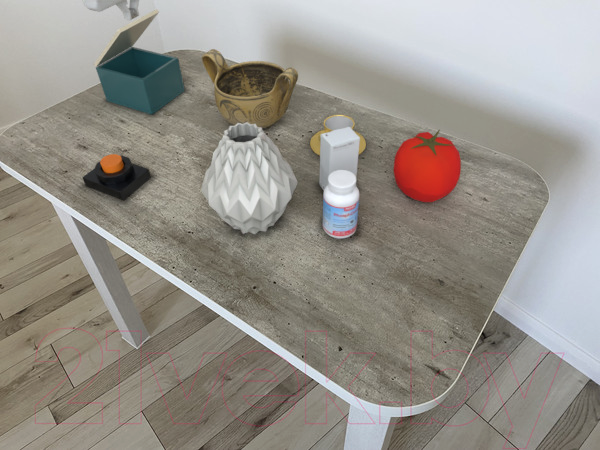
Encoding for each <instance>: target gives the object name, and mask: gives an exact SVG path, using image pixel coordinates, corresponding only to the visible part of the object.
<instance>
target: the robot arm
mask: <svg viewBox="0 0 600 450" xmlns="http://www.w3.org/2000/svg"><path fill="white" fill-rule="evenodd" d="M82 3H83V5H84V7H86V8H87V9H88V10H89V11H93V12H98V13H100V12H103V11H105V10H108V9H109V8H111V7H114V6H116V7H117V8H119V10H120V11H121V12H122V14H123V15H122V16H123V19H124V20H126V21H132V20H133V19H136V18H137V17H139V16H140V12H139V4H140V0H129V7H128V6H127V5H128V0H82Z"/></svg>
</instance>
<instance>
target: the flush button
mask: <svg viewBox="0 0 600 450" xmlns="http://www.w3.org/2000/svg"><path fill="white" fill-rule="evenodd" d="M99 162H100V164H101V166H102V169H103V171H104V172H105V173H115V172H118V171H120V170H121V169H123V167H124V164H123V161H122V158H121V156H120V154H117V153H112V154H107V155H105V156H103V157H102V158H101V159H100V160H99Z"/></svg>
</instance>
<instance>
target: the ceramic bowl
mask: <svg viewBox="0 0 600 450" xmlns="http://www.w3.org/2000/svg"><path fill="white" fill-rule="evenodd" d="M201 62H202V64H203V67H204V69H205V71H206V73H207V74H208V76H209V78H210V80H211V82H212V83H213V85H214V86H213V87H214V88H213V93H214V94H213V95H214V101H215V104H216V107H217V110H218V111H219V113H220V115H221V116H222V118H224V120H225V121H227V122H228V123H229V124H230V125H231V126H235V125H236V124H237V123H241V124H244V123H246V122H248V123H249V124H256V125H257V127H261V128H262V130H263V129H266V128H269V127H271V126H273V125H274V124H275V123H277V122H278V121H279V120H280V119H281V118H282V117H284V115H285V113H286V112H287V110H288V107H289V104H290V101H291V99H292V98H291V97H292V94H293V92H294V89H295V88H296V85H297V82H298V80H299V79H298V78H299V74H298V70H297V69H295V68H294V67H287V68H286V69H284V68H283V66H281V65H279V64H276V63H275V62H271V61H266V60H265V61H263V60H252V61H251V60H249V61H248V60H247V61H242V62H238V63H234V64H233V65H228V64H227V62H226V59H225V58H224V55H223V54H222V53H221V52H220V51H219V50H218V49H215V48H211V49H209V50H208V51H207V52H205V53H204V54H203V55H202V56H201Z"/></svg>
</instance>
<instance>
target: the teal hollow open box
mask: <svg viewBox="0 0 600 450" xmlns="http://www.w3.org/2000/svg"><path fill="white" fill-rule="evenodd" d="M95 69H96V73H97V76H98V79H99V82H100V86H101V88H102V91H103V95H104V97H105V99H106V102H109V103H113V104H116V105H119V106H121V107H126V108H129V109H132V110H136V111H139V112H142V113H145V114H149V115H154V114H155V113H157V112H158V111H159V110H161V109H163V108H164V107H165V106H166V105H168V104H169V103H171V102H172V101H173V100H174V99H176V98H177V97H179V96H180V95H181V94H183V93H184V92H185V91H186V89H185V84H184V80H183V75H182V70H181V65H180V61H179V57H177V56H172V55H168V54H164V53H161V52H160V53H159V52H156V51H152V50H147V49H143V48H140V47H135V46H132V47H130V48H129V49H127V50H125V51H123V52H122V53H120V54H118V55H116V56H115V57H113V58H111V59H109V60H108V61H106V62H104V63H102V64H101V65H99V66H97V67H96V66H95Z"/></svg>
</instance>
